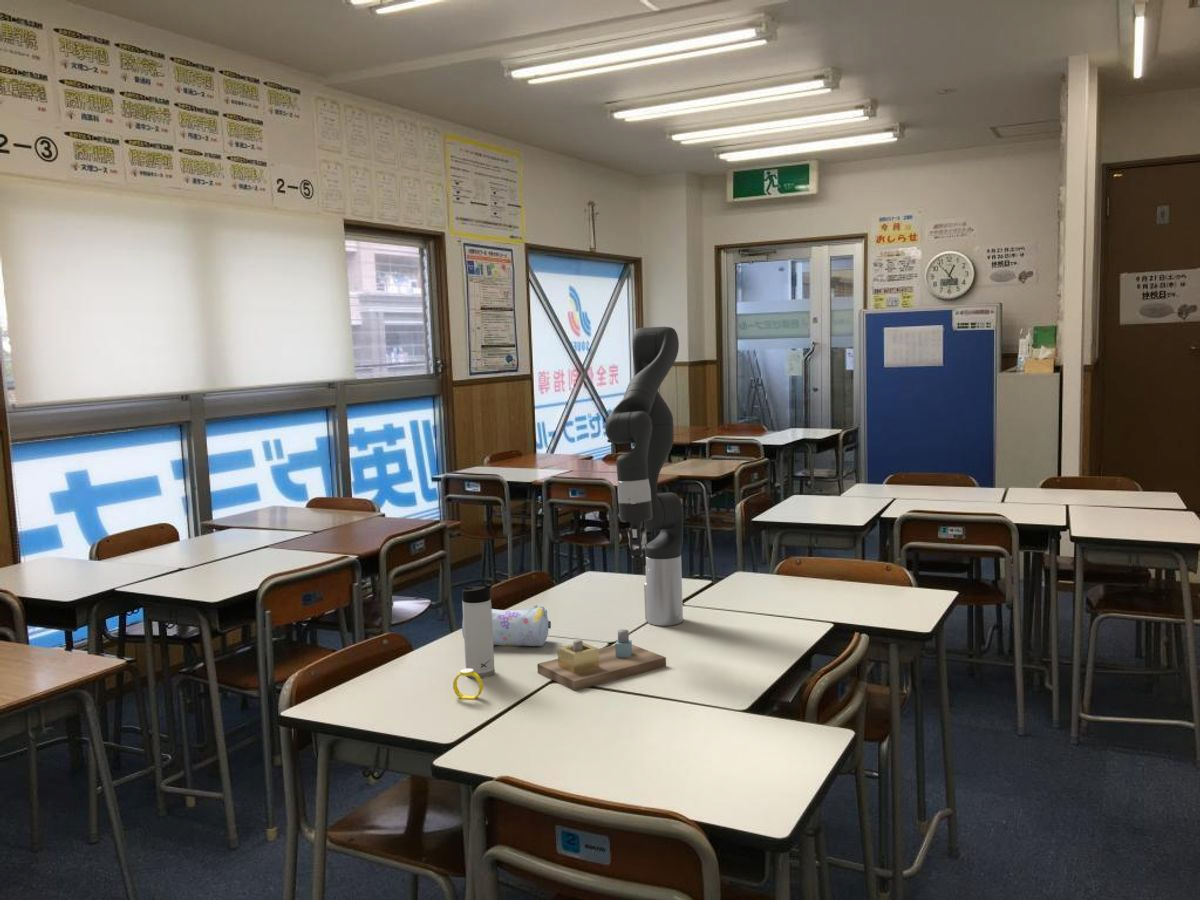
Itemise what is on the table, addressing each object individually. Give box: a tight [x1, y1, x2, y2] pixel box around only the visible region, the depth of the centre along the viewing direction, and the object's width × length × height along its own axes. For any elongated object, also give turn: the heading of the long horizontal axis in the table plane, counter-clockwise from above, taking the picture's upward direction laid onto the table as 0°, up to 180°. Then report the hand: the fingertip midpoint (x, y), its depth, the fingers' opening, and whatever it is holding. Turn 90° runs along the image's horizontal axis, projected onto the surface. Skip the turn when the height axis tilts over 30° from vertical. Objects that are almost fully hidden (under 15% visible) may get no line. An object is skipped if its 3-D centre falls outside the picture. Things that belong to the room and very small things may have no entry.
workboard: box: [537, 639, 667, 691], centre depth 210 cm, size 15×24×8 cm, turn 124°
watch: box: [452, 668, 484, 700], centre depth 195 cm, size 6×3×6 cm, turn 79°
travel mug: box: [461, 583, 496, 679], centre depth 209 cm, size 6×7×20 cm
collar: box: [557, 641, 600, 673], centre depth 206 cm, size 6×6×4 cm
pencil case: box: [461, 604, 552, 647], centre depth 231 cm, size 21×9×10 cm, turn 81°
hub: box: [614, 628, 633, 657], centre depth 213 cm, size 3×3×6 cm
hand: (640, 570), depth 218 cm, fingers open, 8 cm apart
